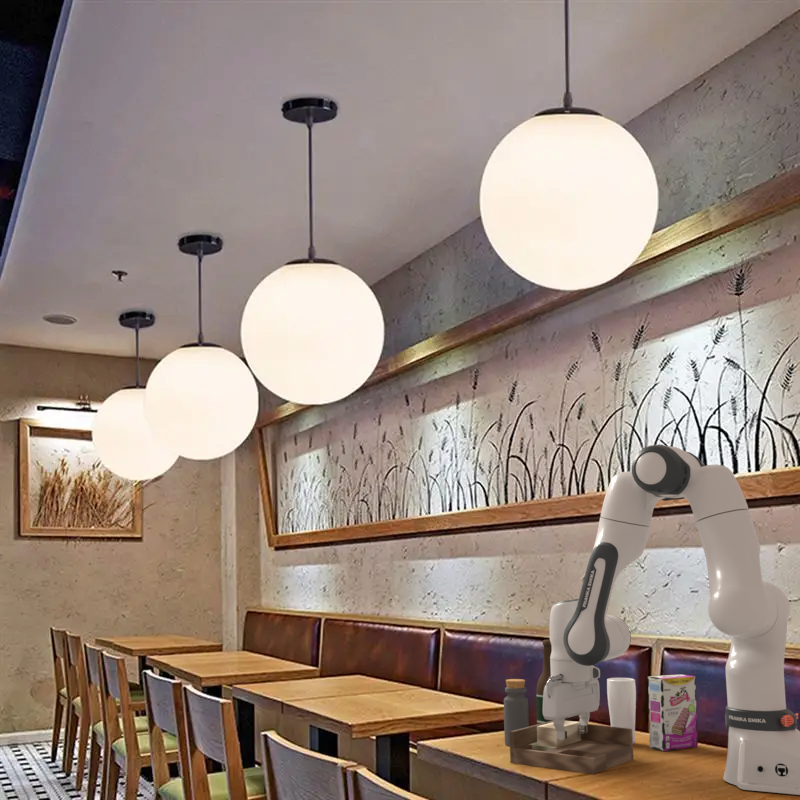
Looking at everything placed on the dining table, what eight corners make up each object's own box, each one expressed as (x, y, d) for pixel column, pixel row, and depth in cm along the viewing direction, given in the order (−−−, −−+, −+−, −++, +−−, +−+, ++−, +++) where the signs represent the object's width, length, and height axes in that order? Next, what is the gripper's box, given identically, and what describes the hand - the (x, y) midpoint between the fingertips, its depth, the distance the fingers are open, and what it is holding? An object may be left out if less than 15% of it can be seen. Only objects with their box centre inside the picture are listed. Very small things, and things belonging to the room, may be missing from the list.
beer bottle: (561, 744, 236) (557, 641, 239) (531, 741, 240) (528, 640, 244) (573, 739, 242) (570, 639, 246) (544, 736, 246) (541, 638, 250)
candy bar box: (665, 752, 225) (661, 678, 228) (649, 748, 229) (646, 676, 232) (700, 747, 231) (696, 675, 233) (684, 744, 235) (680, 673, 238)
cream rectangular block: (581, 740, 224) (580, 722, 225) (557, 747, 215) (556, 728, 216) (561, 738, 227) (561, 720, 228) (537, 745, 218) (536, 726, 219)
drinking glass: (638, 746, 232) (635, 681, 234) (609, 745, 233) (606, 680, 236) (637, 741, 238) (634, 677, 241) (609, 740, 240) (606, 677, 242)
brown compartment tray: (633, 759, 217) (632, 728, 218) (593, 774, 203) (592, 741, 204) (553, 749, 229) (552, 720, 231) (510, 762, 215) (509, 731, 216)
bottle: (500, 743, 237) (498, 679, 239) (520, 741, 239) (518, 678, 242) (513, 747, 232) (512, 682, 234) (534, 745, 234) (532, 680, 237)
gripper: (559, 677, 212) (562, 744, 209) (603, 669, 227) (606, 731, 225) (534, 675, 215) (536, 741, 213) (579, 667, 231) (581, 728, 229)
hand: (572, 736), depth 219 cm, fingers open, 8 cm apart
